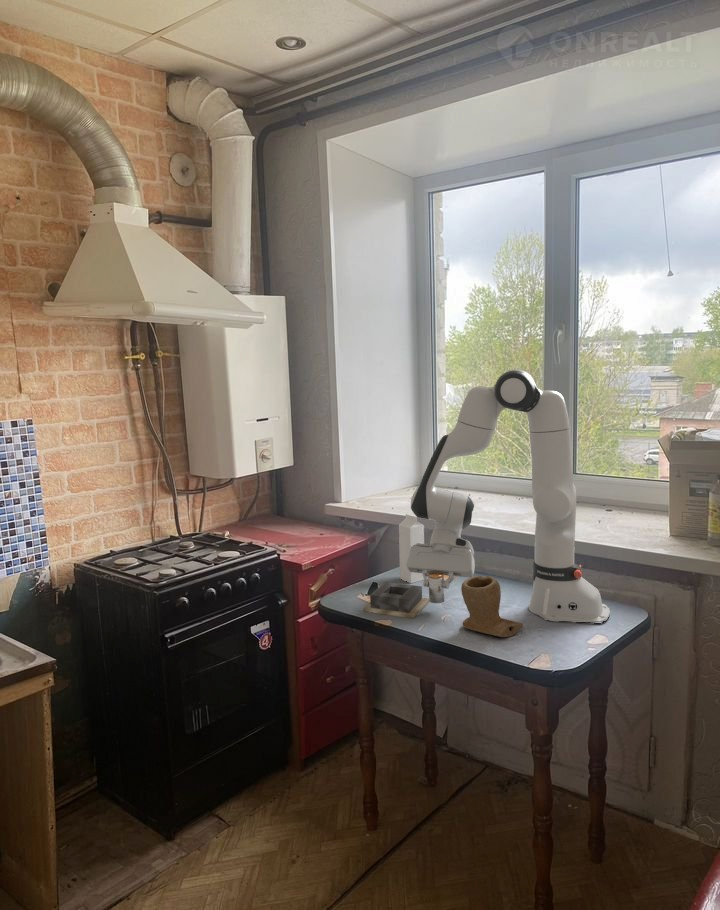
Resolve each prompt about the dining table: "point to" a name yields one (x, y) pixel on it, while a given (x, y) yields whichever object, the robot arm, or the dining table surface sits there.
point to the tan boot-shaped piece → (486, 607)
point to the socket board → (397, 600)
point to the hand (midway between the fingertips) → (435, 586)
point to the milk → (409, 546)
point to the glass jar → (436, 587)
